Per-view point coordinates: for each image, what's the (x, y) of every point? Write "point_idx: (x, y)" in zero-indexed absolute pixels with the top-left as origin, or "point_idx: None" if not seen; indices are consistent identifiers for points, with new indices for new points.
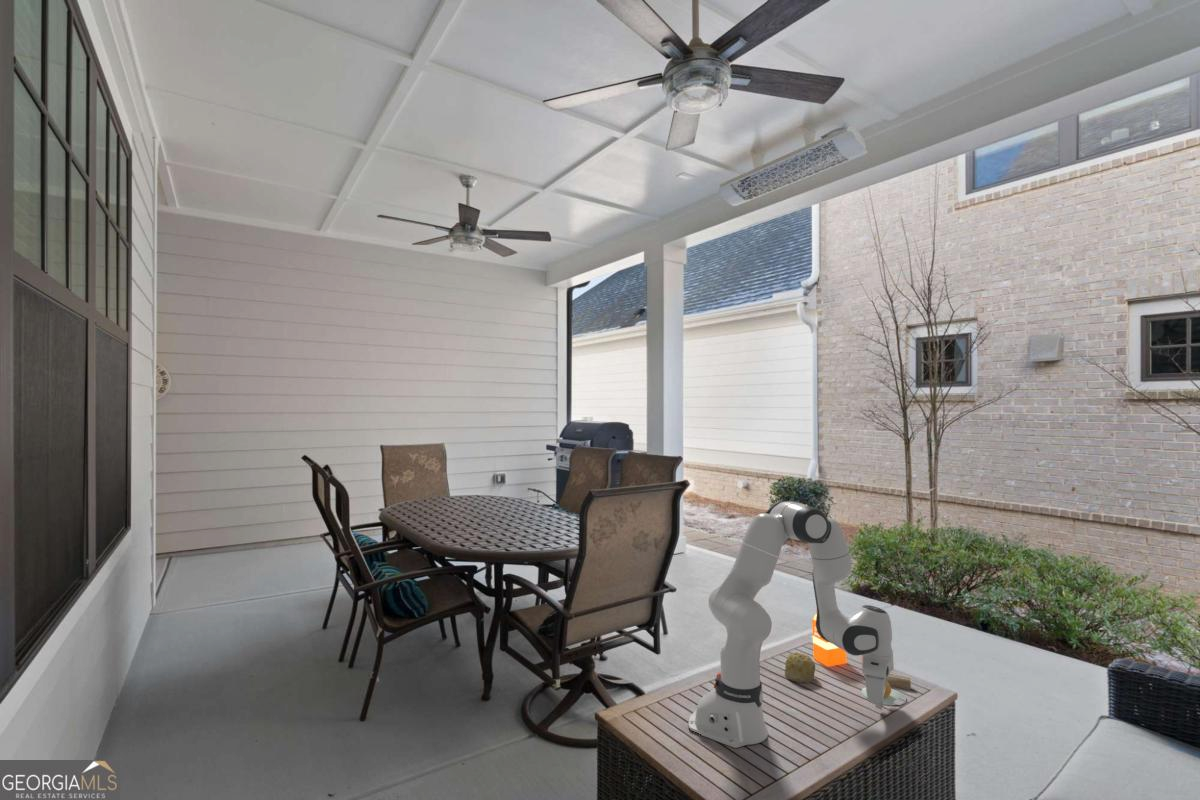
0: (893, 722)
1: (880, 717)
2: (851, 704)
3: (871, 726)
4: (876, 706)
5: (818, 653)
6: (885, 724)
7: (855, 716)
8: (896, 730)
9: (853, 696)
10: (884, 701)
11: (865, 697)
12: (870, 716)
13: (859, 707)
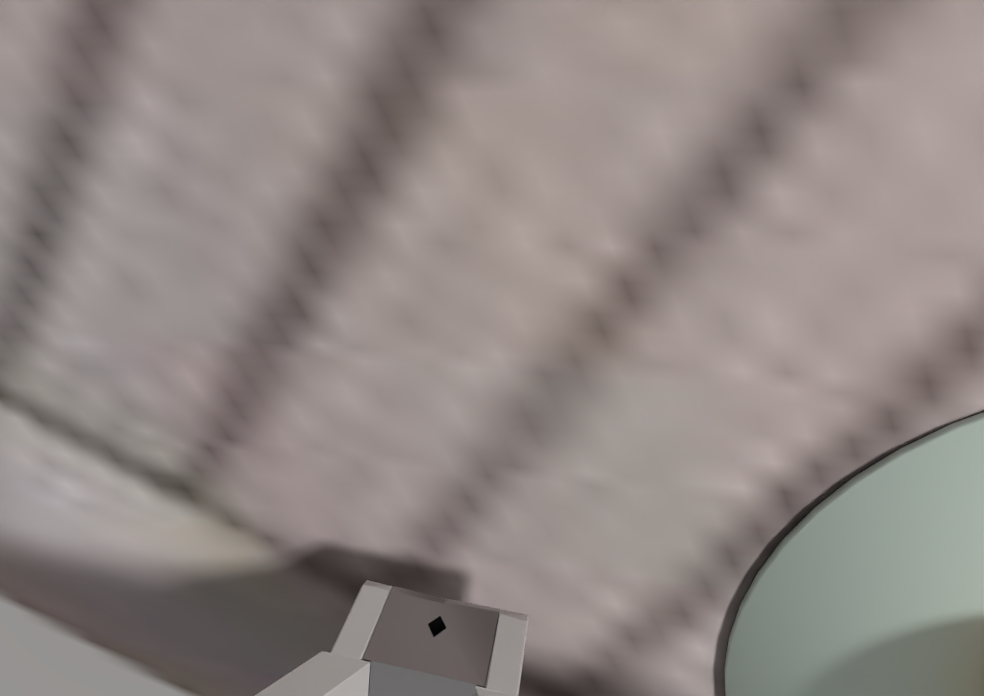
0: (269, 654)
1: (314, 546)
2: (559, 157)
3: (8, 420)
4: (357, 600)
5: None
6: (166, 572)
7: (140, 224)
8: (106, 648)
9: (973, 198)
10: (839, 670)
11: (960, 422)
12: (270, 433)
13: (494, 297)
